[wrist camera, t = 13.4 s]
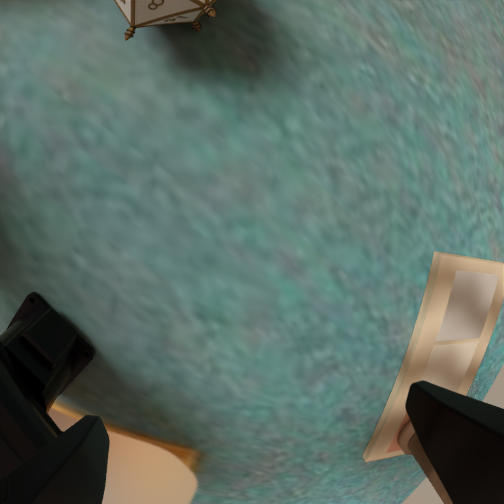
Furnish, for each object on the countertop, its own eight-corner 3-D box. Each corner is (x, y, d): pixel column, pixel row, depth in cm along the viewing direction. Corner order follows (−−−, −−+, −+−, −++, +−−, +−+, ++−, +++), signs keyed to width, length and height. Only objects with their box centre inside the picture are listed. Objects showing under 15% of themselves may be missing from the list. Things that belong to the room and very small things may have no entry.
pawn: (397, 454, 26) (453, 547, 13) (396, 424, 24) (465, 530, 11) (442, 429, 26) (505, 511, 13) (445, 396, 24) (524, 485, 11)
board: (435, 439, 28) (439, 445, 26) (362, 455, 26) (365, 462, 25) (505, 263, 23) (512, 265, 22) (434, 251, 22) (442, 254, 21)
